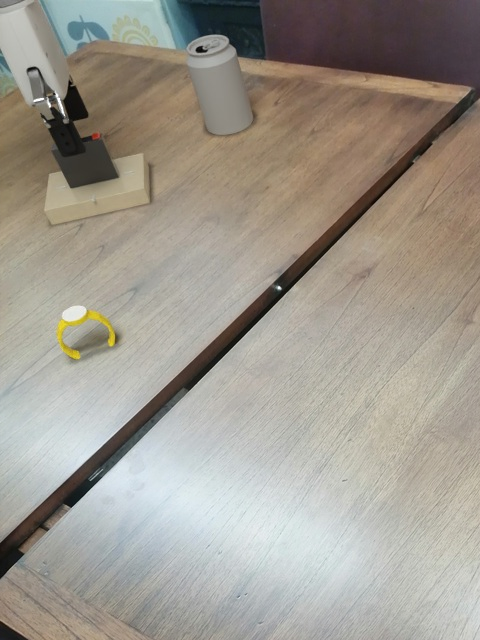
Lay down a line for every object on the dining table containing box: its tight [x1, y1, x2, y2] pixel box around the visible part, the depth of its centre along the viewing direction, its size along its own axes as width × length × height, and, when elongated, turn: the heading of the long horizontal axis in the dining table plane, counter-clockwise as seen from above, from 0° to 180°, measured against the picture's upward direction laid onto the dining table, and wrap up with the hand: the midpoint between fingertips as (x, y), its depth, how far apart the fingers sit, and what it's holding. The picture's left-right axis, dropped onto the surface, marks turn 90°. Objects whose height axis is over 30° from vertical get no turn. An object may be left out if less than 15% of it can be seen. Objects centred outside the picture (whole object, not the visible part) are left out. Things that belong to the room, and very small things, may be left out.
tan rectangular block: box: [43, 152, 151, 226], centre depth 99 cm, size 14×11×3 cm
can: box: [185, 34, 254, 136], centre depth 104 cm, size 8×8×12 cm
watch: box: [55, 305, 116, 360], centre depth 78 cm, size 6×3×6 cm, turn 115°
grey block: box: [50, 131, 119, 188], centre depth 96 cm, size 7×2×6 cm, turn 102°
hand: (76, 136), depth 93 cm, fingers open, 9 cm apart
